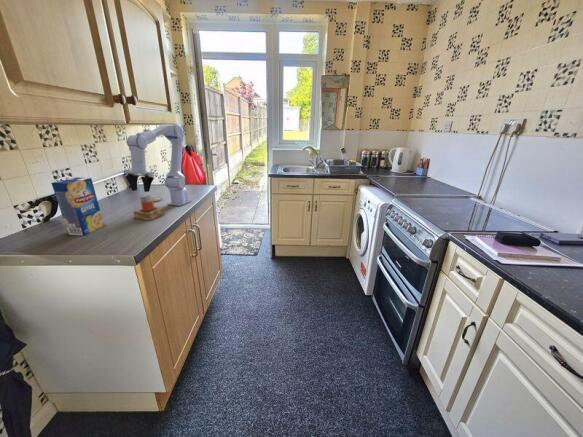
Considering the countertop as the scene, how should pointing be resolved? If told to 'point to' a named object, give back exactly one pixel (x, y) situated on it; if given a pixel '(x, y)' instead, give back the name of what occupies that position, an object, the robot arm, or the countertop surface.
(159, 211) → the holder
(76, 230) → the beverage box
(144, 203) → the can
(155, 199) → the coaster
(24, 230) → the countertop surface
